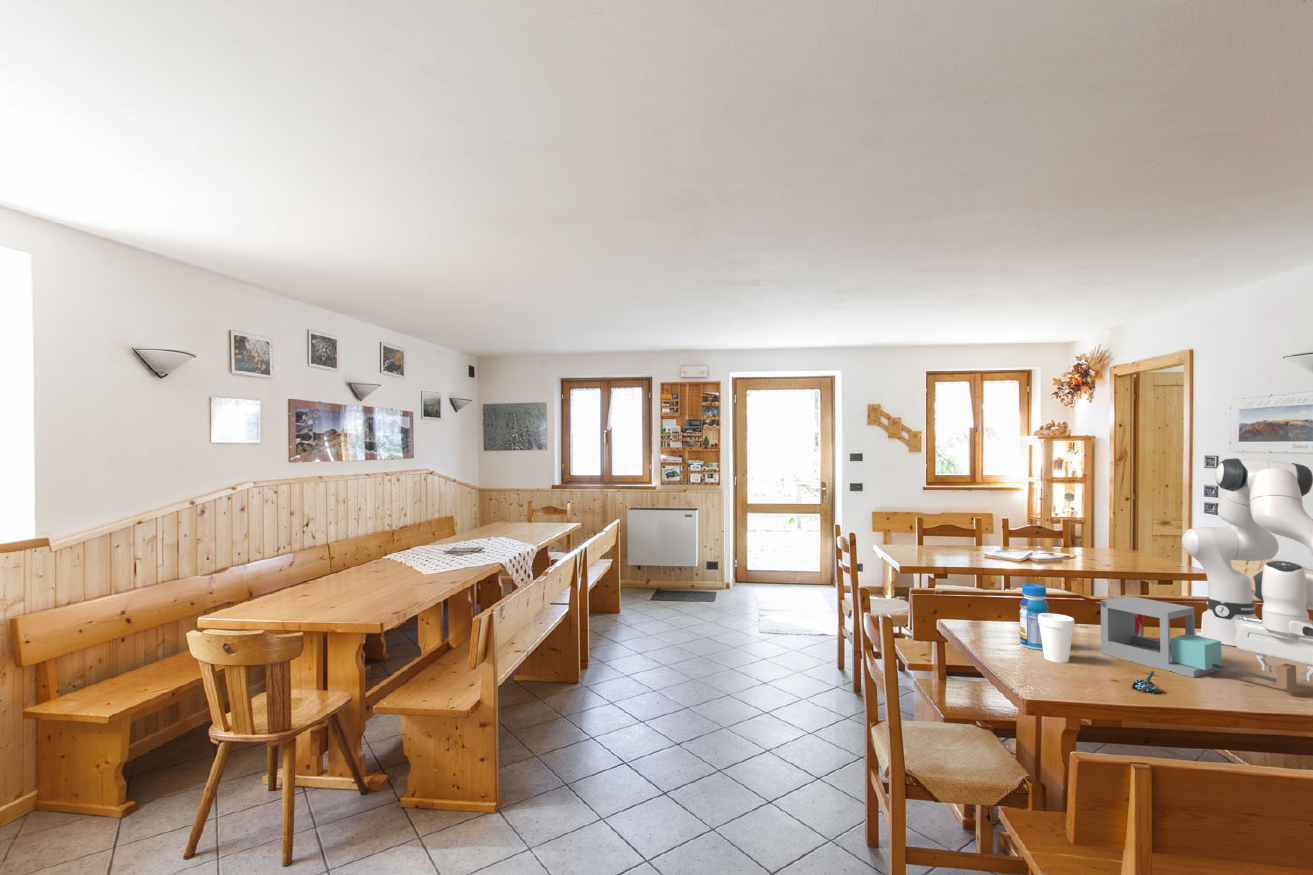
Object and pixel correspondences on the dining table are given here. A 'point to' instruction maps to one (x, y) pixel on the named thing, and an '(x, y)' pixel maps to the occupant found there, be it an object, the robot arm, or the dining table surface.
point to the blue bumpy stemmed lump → (1146, 685)
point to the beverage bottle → (1032, 615)
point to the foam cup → (1056, 636)
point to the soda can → (1139, 625)
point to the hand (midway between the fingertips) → (1286, 676)
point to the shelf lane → (1142, 650)
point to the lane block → (1219, 658)
